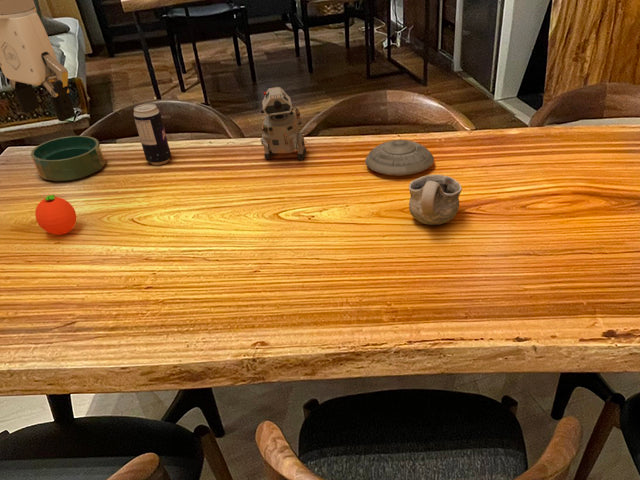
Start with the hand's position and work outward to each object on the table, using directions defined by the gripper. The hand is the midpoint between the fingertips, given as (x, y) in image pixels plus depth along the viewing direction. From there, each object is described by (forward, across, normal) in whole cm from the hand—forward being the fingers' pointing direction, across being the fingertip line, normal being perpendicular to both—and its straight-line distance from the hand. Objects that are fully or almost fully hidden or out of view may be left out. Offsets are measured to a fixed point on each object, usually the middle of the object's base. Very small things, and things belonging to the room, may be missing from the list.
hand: (49, 114), depth 109 cm
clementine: (+20, 0, -6) cm, 21 cm away
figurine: (+20, +18, +40) cm, 49 cm away
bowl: (+20, -23, +14) cm, 34 cm away
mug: (+20, +61, +30) cm, 71 cm away
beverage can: (+20, -8, +27) cm, 35 cm away
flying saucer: (+20, +42, +50) cm, 69 cm away
